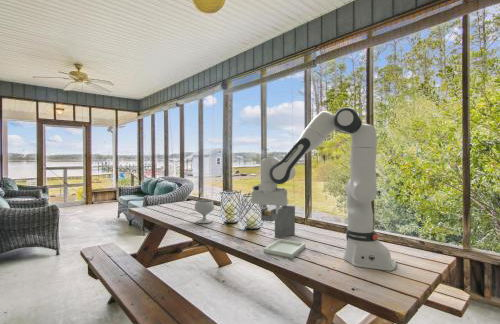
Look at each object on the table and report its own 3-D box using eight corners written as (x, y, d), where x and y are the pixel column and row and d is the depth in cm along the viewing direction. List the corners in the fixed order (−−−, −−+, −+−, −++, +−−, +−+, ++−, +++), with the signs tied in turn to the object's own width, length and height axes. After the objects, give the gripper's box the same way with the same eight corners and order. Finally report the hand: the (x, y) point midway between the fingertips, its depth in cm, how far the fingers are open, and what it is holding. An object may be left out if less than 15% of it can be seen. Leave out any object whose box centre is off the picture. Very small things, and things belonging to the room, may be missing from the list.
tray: (305, 247, 147) (305, 243, 147) (291, 259, 131) (291, 254, 131) (279, 243, 155) (279, 238, 155) (263, 253, 138) (263, 248, 138)
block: (274, 217, 149) (274, 210, 148) (270, 219, 145) (270, 211, 145) (267, 217, 151) (267, 209, 151) (264, 218, 147) (264, 211, 147)
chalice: (216, 220, 208) (216, 200, 207) (209, 224, 194) (209, 203, 194) (199, 219, 211) (199, 199, 211) (191, 223, 197) (191, 202, 197)
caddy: (277, 219, 149) (277, 208, 149) (272, 221, 144) (271, 210, 143) (266, 217, 152) (266, 207, 152) (261, 220, 147) (261, 209, 147)
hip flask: (277, 238, 162) (277, 205, 162) (272, 237, 166) (272, 204, 165) (295, 234, 172) (296, 202, 172) (290, 232, 175) (291, 201, 175)
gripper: (289, 187, 145) (289, 213, 145) (255, 185, 155) (256, 210, 156) (284, 188, 139) (284, 216, 140) (249, 186, 150) (250, 212, 150)
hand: (269, 213), depth 148 cm, fingers closed on caddy, 6 cm apart
